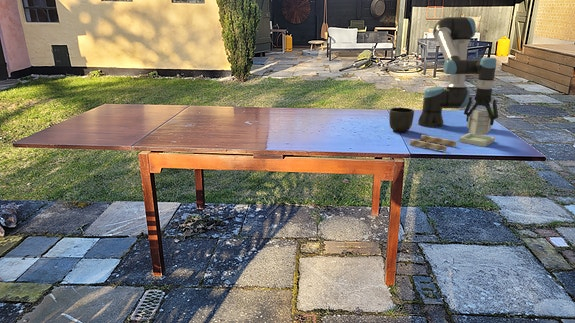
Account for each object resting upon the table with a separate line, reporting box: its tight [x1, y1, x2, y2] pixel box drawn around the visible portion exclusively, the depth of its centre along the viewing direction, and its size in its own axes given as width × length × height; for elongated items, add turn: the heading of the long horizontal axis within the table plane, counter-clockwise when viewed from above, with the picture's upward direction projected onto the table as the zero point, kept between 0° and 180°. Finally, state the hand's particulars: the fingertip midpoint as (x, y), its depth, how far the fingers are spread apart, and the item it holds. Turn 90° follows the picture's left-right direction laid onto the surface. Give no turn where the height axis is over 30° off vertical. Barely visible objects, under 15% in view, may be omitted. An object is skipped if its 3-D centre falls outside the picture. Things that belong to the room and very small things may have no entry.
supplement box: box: [468, 108, 490, 136], centre depth 228 cm, size 7×7×13 cm
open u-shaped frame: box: [409, 134, 457, 152], centre depth 224 cm, size 19×14×3 cm
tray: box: [458, 132, 496, 148], centre depth 232 cm, size 14×14×2 cm
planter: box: [388, 107, 415, 134], centre depth 252 cm, size 14×14×13 cm
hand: (478, 129), depth 230 cm, fingers closed on supplement box, 10 cm apart
